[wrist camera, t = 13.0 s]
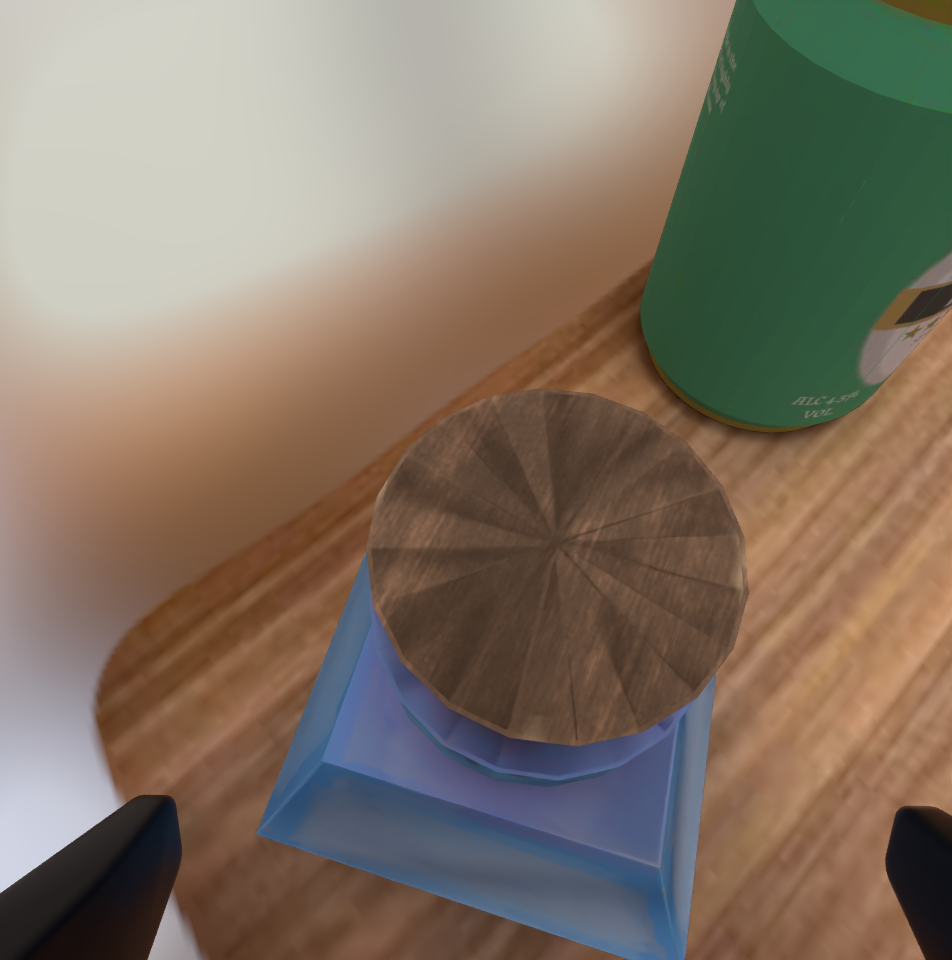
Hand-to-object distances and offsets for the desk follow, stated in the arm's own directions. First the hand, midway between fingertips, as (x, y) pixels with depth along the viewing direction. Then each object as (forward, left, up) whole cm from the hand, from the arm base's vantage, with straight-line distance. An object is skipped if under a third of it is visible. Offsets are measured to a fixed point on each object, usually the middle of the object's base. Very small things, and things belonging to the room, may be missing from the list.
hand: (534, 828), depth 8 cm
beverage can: (+15, +9, -9) cm, 19 cm away
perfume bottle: (+1, +2, -8) cm, 8 cm away
